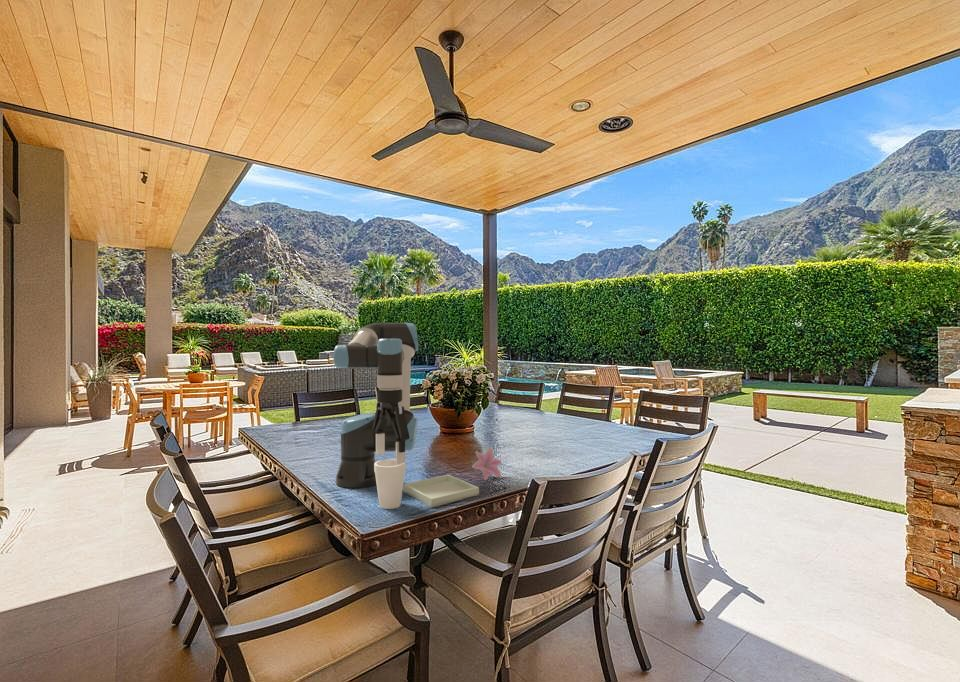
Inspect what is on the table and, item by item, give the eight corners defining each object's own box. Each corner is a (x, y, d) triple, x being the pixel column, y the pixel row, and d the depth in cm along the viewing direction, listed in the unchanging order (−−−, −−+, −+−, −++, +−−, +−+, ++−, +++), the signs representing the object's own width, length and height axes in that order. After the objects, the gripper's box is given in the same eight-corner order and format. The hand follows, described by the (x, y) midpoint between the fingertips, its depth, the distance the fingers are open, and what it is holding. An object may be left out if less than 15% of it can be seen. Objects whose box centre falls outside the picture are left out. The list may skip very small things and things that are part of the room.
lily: (466, 482, 166) (475, 462, 162) (467, 461, 177) (475, 442, 173) (497, 491, 168) (506, 471, 164) (496, 470, 178) (505, 451, 175)
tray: (431, 507, 139) (431, 499, 139) (403, 491, 153) (403, 484, 153) (478, 495, 150) (478, 487, 150) (448, 481, 164) (448, 474, 164)
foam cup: (402, 511, 136) (402, 467, 136) (371, 510, 136) (371, 467, 136) (407, 499, 145) (407, 458, 145) (378, 499, 146) (378, 458, 145)
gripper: (421, 391, 133) (421, 464, 133) (383, 385, 153) (383, 449, 152) (397, 393, 128) (397, 469, 128) (361, 386, 148) (361, 452, 148)
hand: (389, 458), depth 140 cm, fingers open, 13 cm apart
